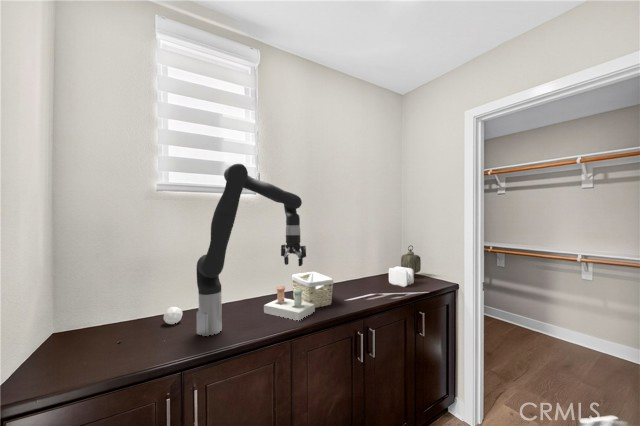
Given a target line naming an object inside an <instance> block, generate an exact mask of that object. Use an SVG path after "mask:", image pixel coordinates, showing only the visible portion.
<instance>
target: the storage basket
mask: <svg viewBox="0 0 640 426" xmlns="http://www.w3.org/2000/svg"><path fill="white" fill-rule="evenodd" d="M291 281H292V291H293V290H295V289H301V290H302V293H301V294H302V302H307V303H312V304H315V309H317V308H320V307H321V308H322V307H324V306H325V307H326V306H330V305H332V300H333V288H334V287H333V286H334V279H333V278H331V277H330V276H326V275H325V274H321V273H319V272H316V271H309V272H308V271H307V272H301V273H300V272H299V273H294V274H292V276H291ZM292 296H293V297H294V293H293V294H292Z"/></svg>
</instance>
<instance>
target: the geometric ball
mask: <svg viewBox="0 0 640 426" xmlns="http://www.w3.org/2000/svg"><path fill="white" fill-rule="evenodd" d="M182 317H183V310H182V309H181V308H180V307H177V306H170V307H168V309H166V310H165V311H164V314H163V320H164V322H165V323H166V324H168V325H176V324H177V323H179V322H180V321H181V320H182ZM175 323H176V324H175Z"/></svg>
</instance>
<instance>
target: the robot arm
mask: <svg viewBox="0 0 640 426" xmlns="http://www.w3.org/2000/svg"><path fill="white" fill-rule="evenodd" d="M223 177H224V180H225V182H226V183H225V187H224V190H223V193H222V195H221V197H220V198H219V200H218V202H217V205H216V207H215V210H214V212H213V216H212V219H211V223H210V225H211V226H210V243H209V246H208V250H207V253H206V254H203V255H201V256H200V257H199V259H198V260H197V263H196V285H197V289H198V292H197V293H198V310H197V311H196V335H200V336H201V335H202V337H204V336H207V337H210V336H209V335H211V336H215V335H217V334H219V333H221V332H222V329H223V328H222V327H223V324H222V323H223V322H222V321H223V320H222V319H223V318H222V317H223V315H222V312H223V311H222V310H223V309H222V307H223V306H222V283H221V282H220V277H219V276H220V274H221V273H222V271H223V269H224V265H225V261H226V253H227V248H228V245H229V241H230V237H231V234H232V231H233V227H234V224H235V220H236V217H237V212H238V208H239V204H240V200H241V199H240V198H241V195H242V192H243V190H244V189H245V190H248V191H252V192H253V193H256V194H259V195H260V196H263V197H265V198H266V199H269V200H271V201H273V202H276V203H280V204H283V209H284V214H285V217H286V218H285V225H286V227H285V243H286V244H285V243H284V244H282V245H281V246H280V248H281V249H280V256H281V257H283V258H284V259H283V260H284V261H283V262H284V263H283V264H284V265H285V266H287V265H289V256H290V255H291V254H293V255H295V256H297V258H298V267H302V266H303V264H304V263H303V261H304V259H305V258H307V248H306V245H301V224H300V223H301V222H300V220H301V219H300V218H301V217H300V215H299V214H298V213H297V209H299V208H301V206H302V204H303V202H302V198H301V197H300V196H299V195H298V194H295V193H292V192H289V191H286V190H284V189H282V188H280V187H278V186H276V185H274V184H272V183H269V182H265V181H262V180H259V179H256V178H254V177H252V176H250V175H249V174H248V169H247V167H246V166H245V165H244V164H243V163H240V162H239V163H238V162H237V163H236V162H235V163H232V164H231V165H229V166H228V167H226V169H225V170H224V172H223ZM220 331H221V332H220ZM214 334H215V335H214Z"/></svg>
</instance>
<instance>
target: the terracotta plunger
mask: <svg viewBox="0 0 640 426" xmlns="http://www.w3.org/2000/svg"><path fill="white" fill-rule="evenodd" d="M275 289H276V293H277V294H276V295H277V298H276V299H278V302H284V298H285V291H286V286H284V285H283V286H276V288H275Z"/></svg>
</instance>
